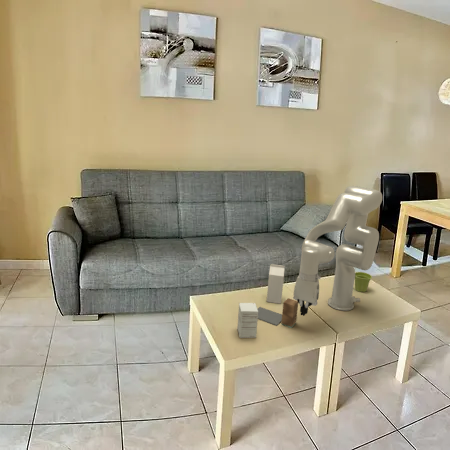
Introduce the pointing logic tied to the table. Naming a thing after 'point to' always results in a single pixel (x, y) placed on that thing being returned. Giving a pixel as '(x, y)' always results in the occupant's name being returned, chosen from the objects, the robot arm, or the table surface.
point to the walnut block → (289, 313)
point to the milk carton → (275, 283)
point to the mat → (269, 316)
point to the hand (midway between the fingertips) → (303, 314)
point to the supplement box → (247, 320)
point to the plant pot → (362, 281)
